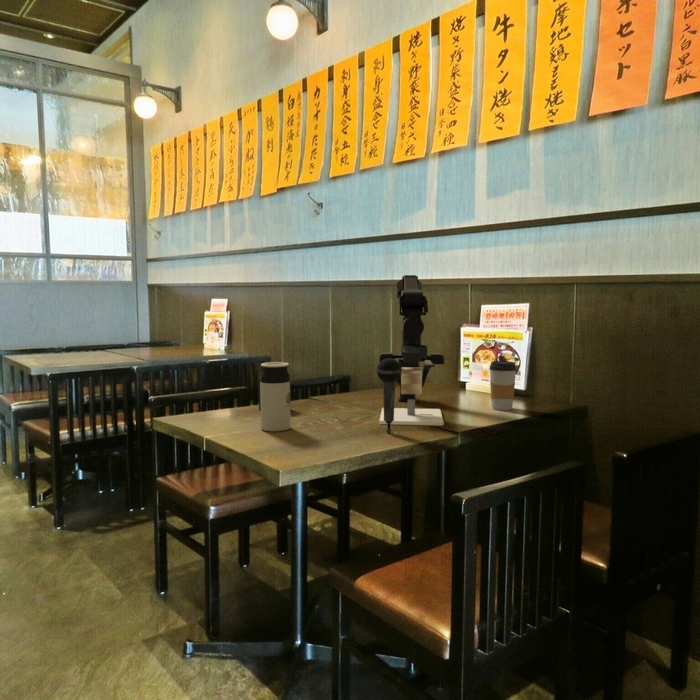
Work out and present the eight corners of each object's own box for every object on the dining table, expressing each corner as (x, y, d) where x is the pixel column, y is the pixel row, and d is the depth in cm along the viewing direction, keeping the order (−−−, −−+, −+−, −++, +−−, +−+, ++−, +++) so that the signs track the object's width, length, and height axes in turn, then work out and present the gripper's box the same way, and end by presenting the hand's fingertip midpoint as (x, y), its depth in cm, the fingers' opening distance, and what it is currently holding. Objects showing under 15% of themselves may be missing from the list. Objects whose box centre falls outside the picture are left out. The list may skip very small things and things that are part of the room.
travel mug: (255, 430, 154) (254, 364, 153) (270, 424, 162) (269, 361, 160) (282, 433, 152) (281, 366, 150) (295, 426, 159) (294, 362, 157)
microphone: (383, 437, 147) (383, 360, 145) (371, 431, 153) (371, 357, 151) (406, 434, 150) (407, 359, 148) (394, 429, 156) (394, 356, 154)
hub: (382, 411, 180) (382, 393, 179) (439, 412, 178) (440, 394, 177) (379, 424, 162) (379, 405, 161) (443, 425, 160) (443, 406, 160)
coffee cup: (516, 412, 178) (517, 364, 176) (488, 410, 180) (490, 363, 178) (514, 406, 186) (515, 361, 185) (488, 405, 188) (489, 360, 186)
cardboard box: (401, 393, 167) (401, 369, 166) (401, 390, 173) (401, 366, 172) (421, 394, 166) (422, 369, 165) (421, 390, 172) (421, 366, 171)
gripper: (378, 336, 160) (378, 391, 162) (445, 337, 158) (445, 392, 160) (380, 333, 171) (380, 385, 173) (443, 334, 170) (442, 386, 171)
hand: (411, 387), depth 169 cm, fingers closed on cardboard box, 6 cm apart
